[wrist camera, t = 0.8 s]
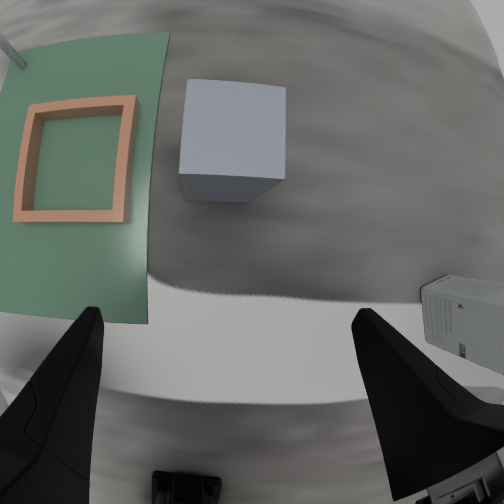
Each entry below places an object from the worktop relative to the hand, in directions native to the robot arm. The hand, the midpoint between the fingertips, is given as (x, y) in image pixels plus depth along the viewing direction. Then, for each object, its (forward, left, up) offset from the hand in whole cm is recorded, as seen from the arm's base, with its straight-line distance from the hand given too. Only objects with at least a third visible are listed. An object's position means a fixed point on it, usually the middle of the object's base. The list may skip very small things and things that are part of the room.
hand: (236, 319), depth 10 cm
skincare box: (0, -22, -14) cm, 26 cm away
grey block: (+8, +1, -13) cm, 15 cm away
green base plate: (+7, +14, -13) cm, 20 cm away
